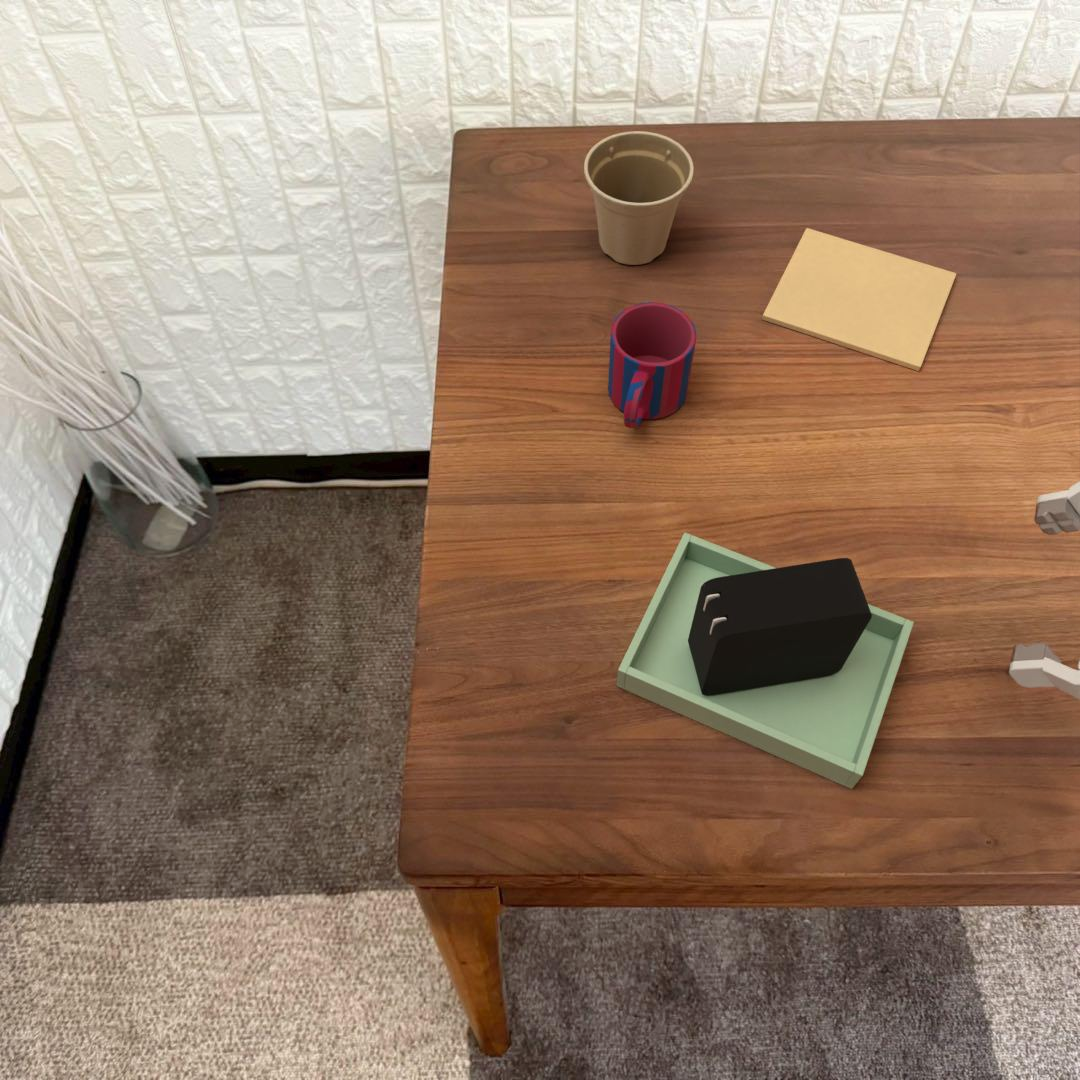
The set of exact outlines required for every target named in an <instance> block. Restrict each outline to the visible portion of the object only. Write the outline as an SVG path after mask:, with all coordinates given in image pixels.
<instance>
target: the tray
mask: <svg viewBox="0 0 1080 1080" xmlns="http://www.w3.org/2000/svg"><path fill="white" fill-rule="evenodd" d="M669 561H670V562H669V563H668V565H667V567H666V569H665V571H664V574H663V576H662V577H661V580H660V582H659V584H658V586H657V588H656V590H655V592H654V594H653V596H652V598H651V601H650V602H649V604H648V606H647V609H646V611H645V613H644V615H643V617H642V618H641V621H640V623H639V625H638V627H637V629H636V632H635V634H634V636H633V637H632V640H631V642H630V644H629V646H628V648H627V650H626V652H625V654H624V656H623V658H622V660H621V663H620V665H619V667H618V669H617V675H616V676H617V677H616V683H615V685H616V687H618V688H620V689H623V690H625V691H627V692H629V693H631V694H633V695H636V696H638V697H640V698H642V699H645V700H647V701H650V702H652V703H654V704H657V705H659V706H661V707H663V708H665V709H667V710H670V711H673V712H674V713H677V714H679V715H680V716H681V715H682V716H683V717H686V718H688V719H690V720H694V721H695V722H698V723H700V724H702V725H704V726H706V727H709V728H711V729H714V730H715V731H718V732H720V733H723V734H725V735H727V736H729V737H732V738H734V739H736V740H739V741H741V742H743V743H745V744H748V745H750V746H752V747H754V748H757V749H759V750H762V751H763V752H766V753H768V754H770V755H773V756H776V757H777V758H780V759H782V760H784V761H785V762H786V761H787V762H789V763H791V764H793V765H796V766H797V767H800V768H803V769H805V770H807V771H809V772H811V773H814V774H816V775H818V776H821V777H823V778H825V779H828V780H829V781H832V782H835V783H837V784H839V785H841V786H843V787H846V788H849V789H851V790H853V789H854V787H855V786H856V785H857V783H858V782H859V781H860V780H861V779H862V778H863V776H864V773H865V770H866V768H867V765H868V762H869V759H870V755H871V753H872V749H873V747H874V744H875V741H876V738H877V735H878V731H879V729H880V726H881V723H882V720H883V717H884V713H885V711H886V708H887V705H888V702H889V699H890V695H891V693H892V690H893V686H894V684H895V680H896V678H897V675H898V672H899V669H900V665H901V663H902V660H903V658H904V654H905V651H906V649H907V645H908V642H909V638H910V636H911V633H912V629H913V627H914V624H915V622H914V621H913V620H911V619H908V618H905V617H904V616H903V617H902V616H900V615H898V614H895V613H892V612H890V611H888V610H885V609H882V608H880V607H877V606H874V605H872V604H869V603H868V606H869V609H870V611H871V614H872V618H871V619H870V621H869V623H868V625H867V626H866V628H865V630H864V631H863V633H862V635H861V636H860V638H859V640H858V642H857V643H856V645H855V647H854V648H853V650H852V652H851V654H850V655H849V657H848V659H847V660H846V662H845V664H844V665H843V667H842V669H841V670H840V671H839V672H837V673H835V674H833V675H830V676H826V677H820V678H814V679H808V680H802V681H796V682H790V683H784V684H778V685H772V686H766V687H760V688H754V689H748V690H742V691H736V692H730V693H724V694H718V695H710V696H706V695H702V692H701V689H700V685H699V681H698V677H697V674H696V670H695V666H694V662H693V659H692V655H691V651H690V647H689V643H688V638H689V633H690V629H691V625H692V621H693V617H694V613H695V609H696V605H697V601H698V597H699V593H700V589H701V586H702V585H703V583H705V582H706V581H708V580H710V579H714V578H718V577H724V576H730V575H737V574H743V573H749V572H756V571H762V570H768V569H775V568H776V567H774V566H772V565H770V564H767V563H765V562H762V561H759V560H757V559H754V558H751V557H749V556H747V555H744V554H742V553H739V552H736V551H734V550H731V549H728V548H727V547H726V548H725V547H723V546H721V545H718V544H716V543H713V542H710V541H709V540H706V539H703V538H700V537H698V536H695V535H692V534H690V533H688V532H683V534H682V536H681V537H680V541H679V542H678V545H677V546H676V549H675V551H674V552H673V555H672V557H671V559H670V560H669Z"/></svg>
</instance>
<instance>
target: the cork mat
mask: <svg viewBox="0 0 1080 1080" xmlns="http://www.w3.org/2000/svg"><path fill="white" fill-rule="evenodd" d="M956 277H957V272H953V271H950V270H947V269H944V268H940V267H937V266H934V265H930V264H928V263H924V262H921V261H917V260H914V259H911V258H907V257H904V256H901V255H897V254H894V253H891V252H888V251H884V250H881V249H878V248H874V247H871V246H869V245H864V244H861V243H858V242H855V241H851V240H848V239H845V238H842V237H838V236H836V235H832V234H829V233H825V232H822V231H818V230H815V229H812V228H809V227H805V230H804V232H803V234H802V236H801V238H800V240H799V241H798V244H797V246H796V248H795V250H794V252H793V254H792V256H791V257H790V260H789V262H788V264H787V265H786V268H785V270H784V272H783V273H782V276H781V278H780V280H779V282H778V283H777V286H776V288H775V290H774V292H773V294H772V295H771V298H770V300H769V301H768V304H767V306H766V307H765V310H764V311H763V314H762V317H761V320H763V321H765V322H768V323H770V324H771V323H772V324H774V325H776V326H781V327H783V328H787V329H789V330H792V331H796V332H798V333H802V334H804V335H808V336H811V337H813V338H817V339H820V340H823V341H825V342H829V343H831V344H835V345H838V346H840V347H844V348H846V349H850V350H853V351H857V352H859V353H862V354H864V355H868V356H871V357H873V358H877V359H880V360H883V361H886V362H889V363H892V364H895V365H899V366H902V367H905V368H906V369H907V368H908V369H910V370H914V371H917V372H919V371H920V370H921V368H922V366H923V364H924V360H925V358H926V355H927V353H928V349H929V347H930V344H931V342H932V340H933V337H934V334H935V333H936V329H937V326H938V324H939V321H940V319H941V316H942V313H943V310H944V308H945V306H946V302H947V301H948V299H949V296H950V293H951V291H952V287H953V284H954V283H955V279H956Z"/></svg>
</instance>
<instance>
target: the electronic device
mask: <svg viewBox="0 0 1080 1080" xmlns="http://www.w3.org/2000/svg"><path fill="white" fill-rule="evenodd" d="M868 604H869V603H868V601H867V598H866V595H865V593H864V590H863V588H862V584H861V582H860V580H859V577H858V573H857V571H856V568H855V566H854V563H853V560H852V559H851V558H848V557H838V558H833V559H826V560H820V561H813V562H806V563H801V564H800V563H799V564H796V565H788V566H781V567H775V569H768V570H762V571H756V572H749V573H743V574H737V575H730V576H724V577H718V578H714V579H710V580H708V581H706V582H705V583H703V585H702V586H701V589H700V593H699V597H698V601H697V605H696V609H695V613H694V617H693V621H692V625H691V629H690V633H689V638H688V643H689V647H690V651H691V655H692V659H693V662H694V666H695V670H696V674H697V677H698V681H699V685H700V689H701V692H702V695H706V696H710V695H718V694H724V693H730V692H736V691H742V690H748V689H754V688H760V687H766V686H772V685H778V684H784V683H790V682H796V681H802V680H808V679H814V678H820V677H826V676H830V675H833V674H835V673H837V672H839V671H840V670H841V669H842V667H843V665H844V664H845V662H846V660H847V659H848V657H849V655H850V654H851V652H852V650H853V648H854V647H855V645H856V643H857V642H858V640H859V638H860V636H861V635H862V633H863V631H864V630H865V628H866V626H867V625H868V623H869V621H870V619H871V618H872V614H871V611H870V609H869V606H868Z"/></svg>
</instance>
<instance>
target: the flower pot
mask: <svg viewBox="0 0 1080 1080" xmlns="http://www.w3.org/2000/svg"><path fill="white" fill-rule="evenodd" d="M694 169H695V168H694V162H693V159H692V157H691V155H690V154H689V152H688V151H687V150H686V148H685V147H684V146H683V145H682V144H680V142H677V141H676V140H675V139H673V138H671V137H669V136H666V135H663V134H661V133H656V132H650V131H645V130H644V131H642V130H633V131H632V130H631V131H625V132H623V131H622V132H618V133H615V134H611V135H608V136H607V137H604V138H603V139H601V140H600V141H598V142H597V143H596V144H594V145H593V146H592V147H591V148H590V149H589V151H588V152H587V154H586V156H585V159H584V162H583V173H584V178H585V180H586V182H587V184H588V186H589V189H590V191H591V194H592V195H593V202H594V209H595V216H596V223H597V231H598V233H597V234H598V243H599V246H600V248H601V251H602V252H603V253H604V254H605V255H608V256H609V257H610V258H611V259H612V260H613V261H615V262H616V263H619V264H622V265H628V266H639V265H644V264H648V263H651V262H652V261H653V260H654V259H656V258H657V257H658V256H660V255H662V254H663V253H664V251H665V250H666V249H665V248H666V246H667V242H668V239H669V235H670V232H671V229H672V225H673V223H674V219H675V216H676V212H677V209H678V205H679V202H680V200H681V199H682V197H683V196H684V194H685V192H686V190H687V189H688V188H689V186H690V185H691V182H692V181H693V178H694V171H695V170H694Z"/></svg>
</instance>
